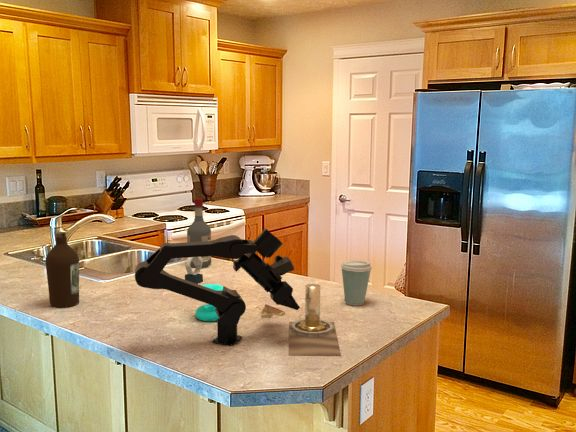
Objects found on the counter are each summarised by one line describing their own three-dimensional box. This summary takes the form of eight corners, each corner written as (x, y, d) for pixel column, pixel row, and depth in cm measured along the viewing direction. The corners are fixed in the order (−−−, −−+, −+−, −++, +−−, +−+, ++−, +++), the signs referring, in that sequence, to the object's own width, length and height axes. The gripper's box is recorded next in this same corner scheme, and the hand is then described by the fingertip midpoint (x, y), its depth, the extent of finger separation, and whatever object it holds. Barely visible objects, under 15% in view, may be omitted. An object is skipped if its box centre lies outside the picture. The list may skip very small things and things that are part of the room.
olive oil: (43, 308, 184) (38, 235, 180) (55, 299, 195) (51, 230, 191) (75, 308, 184) (71, 235, 181) (85, 299, 195) (82, 230, 191)
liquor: (186, 267, 240) (184, 199, 236) (193, 262, 249) (192, 197, 245) (206, 268, 239) (205, 200, 234) (212, 263, 248) (211, 198, 243)
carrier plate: (341, 359, 146) (341, 351, 145) (288, 359, 146) (288, 351, 145) (333, 325, 171) (334, 318, 171) (289, 324, 171) (289, 317, 171)
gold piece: (329, 333, 161) (330, 289, 159) (301, 335, 160) (301, 290, 158) (322, 323, 169) (323, 281, 167) (295, 325, 168) (296, 282, 166)
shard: (265, 308, 188) (265, 303, 188) (287, 309, 187) (287, 304, 187) (260, 318, 178) (260, 313, 177) (283, 320, 177) (283, 314, 177)
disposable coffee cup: (333, 303, 193) (334, 261, 191) (352, 296, 201) (353, 256, 199) (358, 310, 186) (359, 267, 184) (376, 302, 194) (377, 261, 192)
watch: (205, 280, 220) (205, 253, 219) (193, 285, 213) (193, 257, 212) (194, 278, 223) (193, 252, 221) (181, 283, 216) (181, 256, 214)
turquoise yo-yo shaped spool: (230, 289, 174) (199, 293, 170) (230, 320, 175) (199, 324, 171) (221, 281, 183) (191, 284, 179) (221, 310, 184) (192, 314, 180)
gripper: (286, 256, 149) (323, 293, 154) (269, 242, 167) (303, 276, 171) (257, 286, 148) (295, 322, 153) (244, 269, 166) (278, 302, 170)
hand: (294, 303), depth 162 cm, fingers open, 9 cm apart
